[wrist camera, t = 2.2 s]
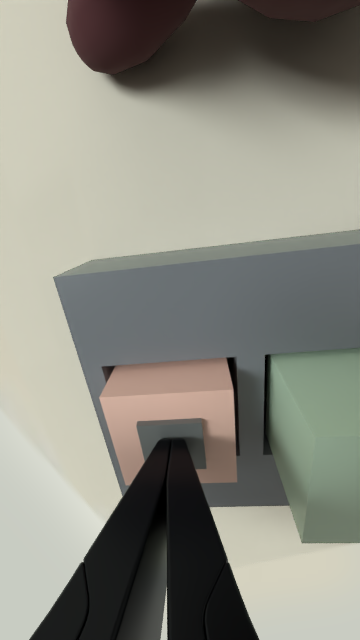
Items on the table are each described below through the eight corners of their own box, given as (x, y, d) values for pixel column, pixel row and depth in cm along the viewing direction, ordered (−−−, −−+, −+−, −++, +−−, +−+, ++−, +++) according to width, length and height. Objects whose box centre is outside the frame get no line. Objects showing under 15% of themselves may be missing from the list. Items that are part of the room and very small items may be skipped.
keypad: (563, 206, 9) (737, 202, 6) (461, 439, 13) (534, 500, 10) (91, 260, 10) (52, 277, 7) (139, 451, 14) (126, 508, 12)
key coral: (220, 331, 11) (234, 394, 7) (224, 405, 12) (238, 488, 8) (129, 339, 11) (96, 402, 7) (144, 409, 12) (124, 490, 9)
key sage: (387, 341, 8) (534, 436, 5) (366, 428, 10) (467, 552, 6) (267, 349, 9) (319, 445, 5) (265, 432, 10) (304, 552, 7)
